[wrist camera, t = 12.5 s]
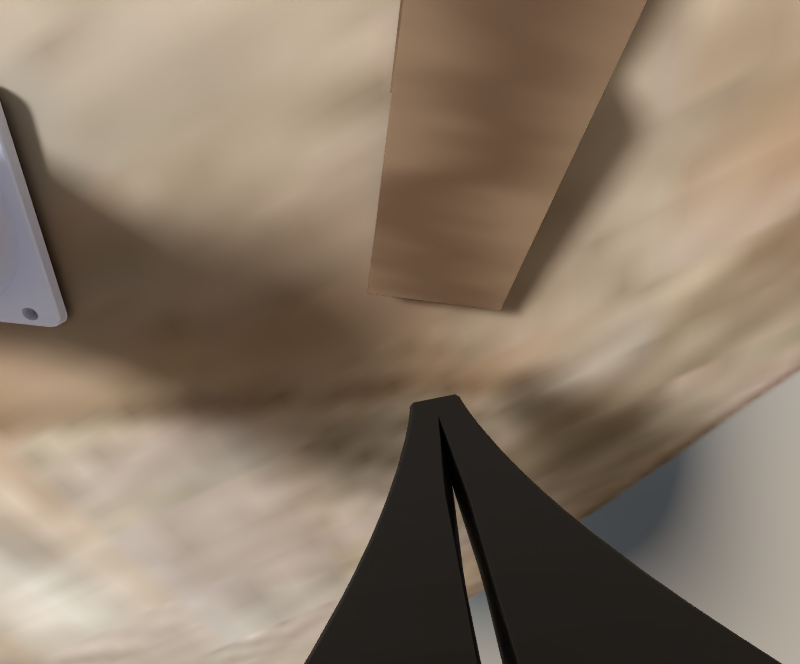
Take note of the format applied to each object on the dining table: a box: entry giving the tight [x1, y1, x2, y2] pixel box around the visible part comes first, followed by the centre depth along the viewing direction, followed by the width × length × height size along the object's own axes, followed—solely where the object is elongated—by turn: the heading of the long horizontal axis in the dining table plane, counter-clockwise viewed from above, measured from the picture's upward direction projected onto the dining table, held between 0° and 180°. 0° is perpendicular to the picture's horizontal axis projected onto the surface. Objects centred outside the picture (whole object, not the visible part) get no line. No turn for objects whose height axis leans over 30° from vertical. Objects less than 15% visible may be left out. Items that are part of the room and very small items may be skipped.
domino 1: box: [368, 0, 647, 311], centre depth 10 cm, size 5×2×8 cm
